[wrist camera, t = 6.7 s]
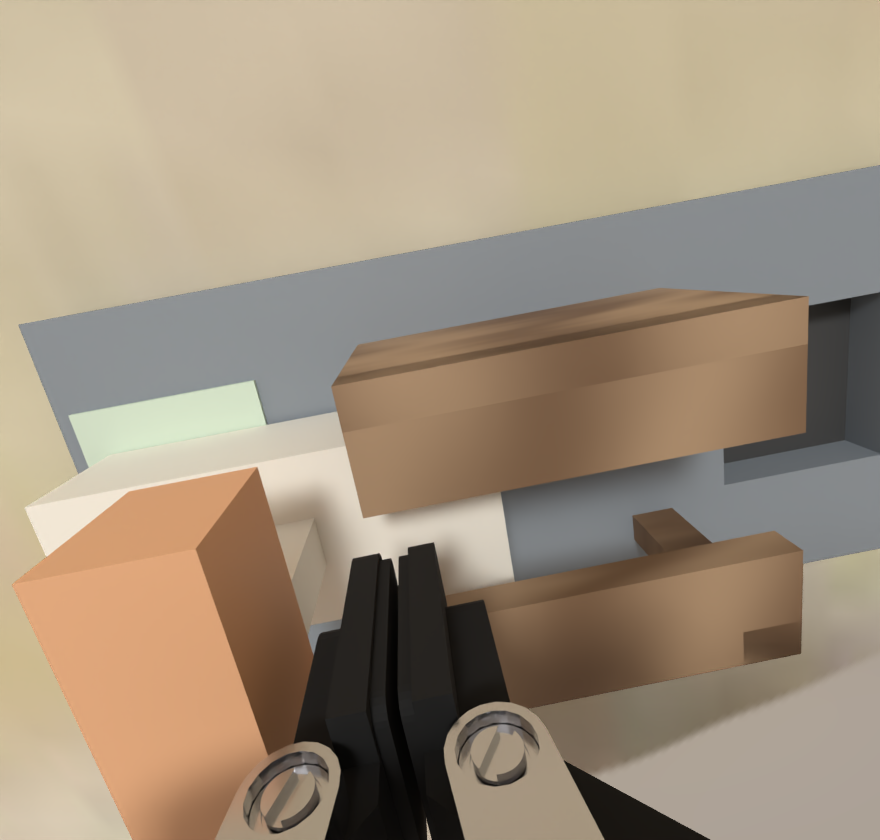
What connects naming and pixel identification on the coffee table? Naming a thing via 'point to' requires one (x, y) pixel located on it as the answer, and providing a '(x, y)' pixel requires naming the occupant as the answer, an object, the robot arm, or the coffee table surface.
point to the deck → (511, 293)
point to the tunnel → (597, 470)
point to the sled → (215, 602)
